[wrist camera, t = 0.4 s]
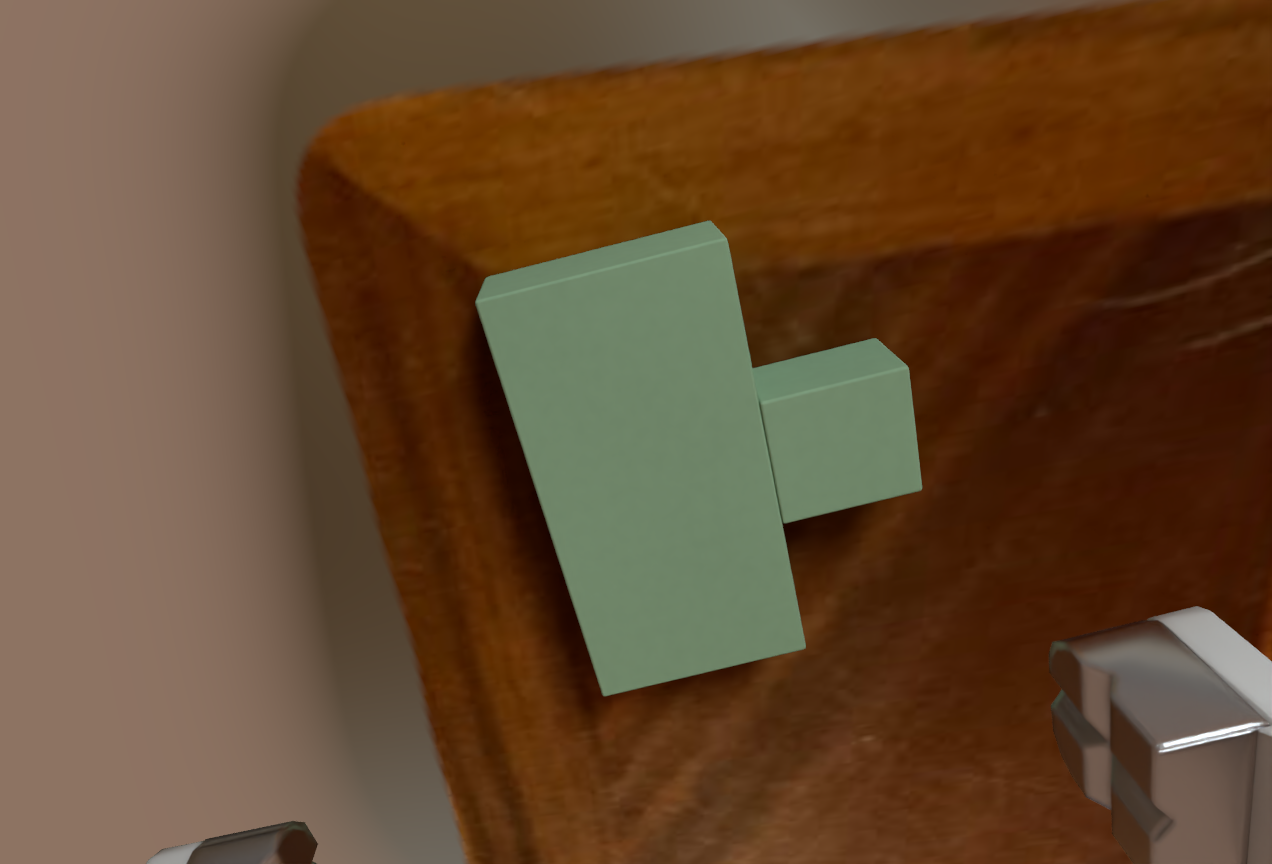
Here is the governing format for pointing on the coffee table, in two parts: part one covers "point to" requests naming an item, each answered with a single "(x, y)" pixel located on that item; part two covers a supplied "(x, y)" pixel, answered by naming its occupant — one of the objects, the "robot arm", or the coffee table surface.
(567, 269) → the green pad
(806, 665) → the coffee table surface
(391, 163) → the coffee table surface
